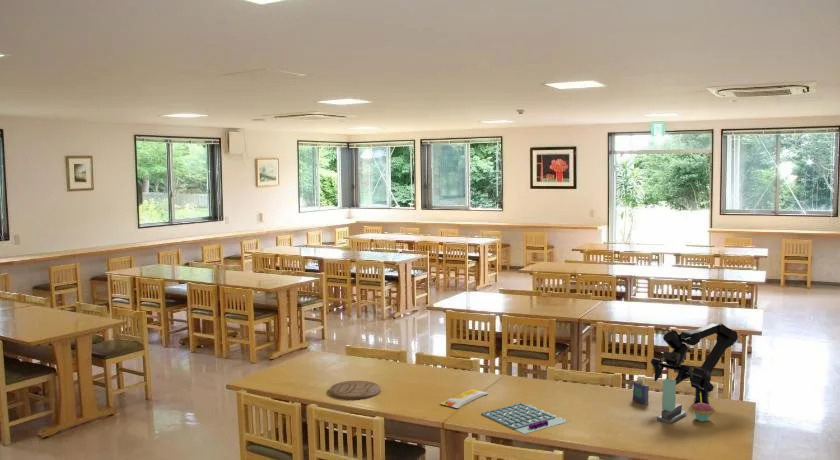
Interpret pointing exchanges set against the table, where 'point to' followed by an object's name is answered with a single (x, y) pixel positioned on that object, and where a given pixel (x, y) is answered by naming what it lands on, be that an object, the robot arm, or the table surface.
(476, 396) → the food package
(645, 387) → the blue gift bag
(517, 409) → the calendar
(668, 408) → the peg
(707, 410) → the cupcake
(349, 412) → the table surface
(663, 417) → the grey stepped block
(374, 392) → the trivet
